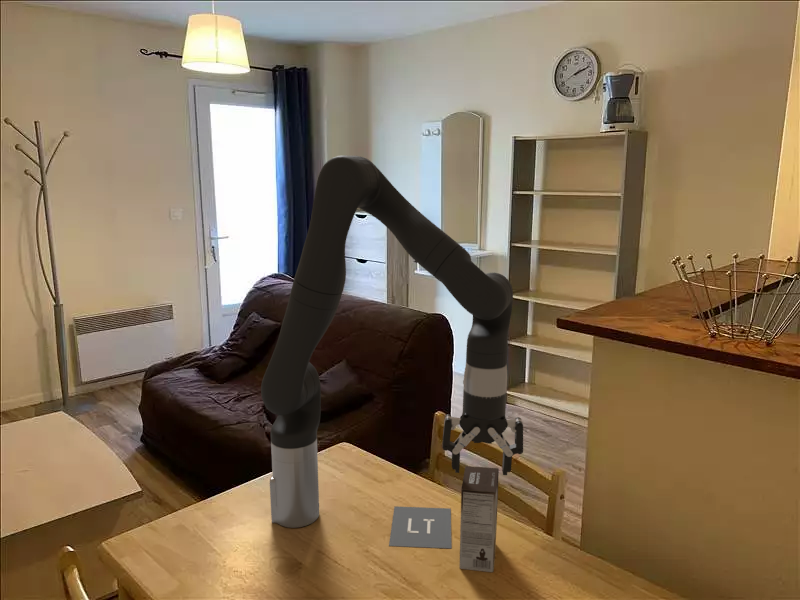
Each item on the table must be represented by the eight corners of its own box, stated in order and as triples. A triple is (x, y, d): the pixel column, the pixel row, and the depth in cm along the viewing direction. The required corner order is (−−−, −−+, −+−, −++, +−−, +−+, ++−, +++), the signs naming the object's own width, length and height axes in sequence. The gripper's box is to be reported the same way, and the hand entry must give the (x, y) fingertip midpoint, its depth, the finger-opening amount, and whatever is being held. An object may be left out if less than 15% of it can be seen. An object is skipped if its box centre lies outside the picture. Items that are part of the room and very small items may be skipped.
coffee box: (463, 539, 120) (465, 464, 116) (496, 543, 119) (499, 467, 115) (458, 569, 111) (460, 488, 108) (494, 573, 110) (497, 492, 106)
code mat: (388, 547, 118) (388, 545, 118) (394, 507, 132) (394, 506, 131) (451, 549, 117) (451, 548, 117) (450, 509, 131) (450, 508, 131)
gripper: (444, 393, 104) (441, 480, 108) (529, 397, 103) (523, 484, 107) (444, 378, 112) (441, 460, 115) (523, 381, 111) (518, 464, 114)
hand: (481, 472), depth 111 cm, fingers open, 8 cm apart
